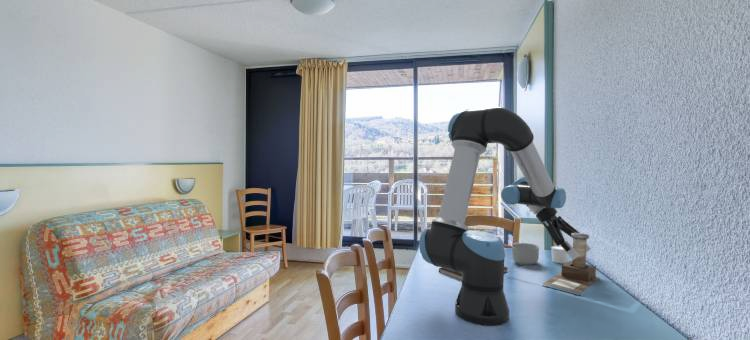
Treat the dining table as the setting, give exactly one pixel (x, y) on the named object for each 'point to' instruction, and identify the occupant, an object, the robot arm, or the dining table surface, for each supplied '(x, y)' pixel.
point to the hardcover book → (457, 274)
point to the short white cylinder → (559, 254)
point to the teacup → (525, 253)
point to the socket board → (573, 278)
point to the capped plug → (579, 249)
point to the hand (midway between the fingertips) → (582, 254)
